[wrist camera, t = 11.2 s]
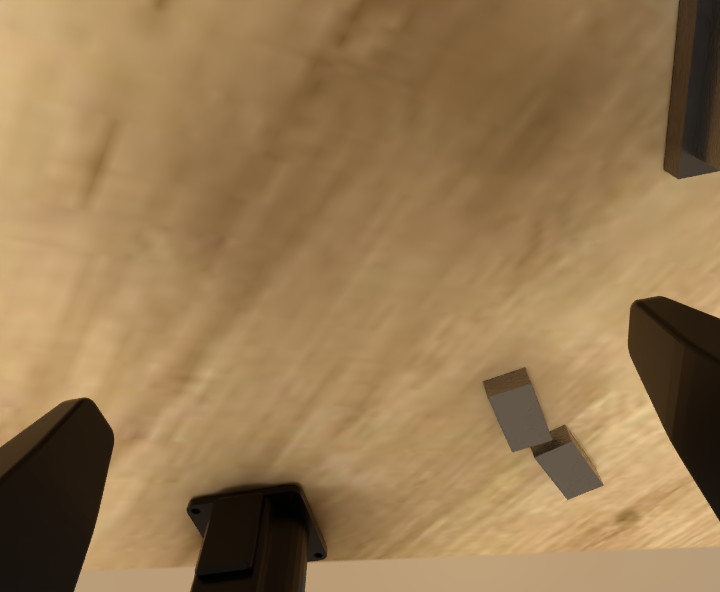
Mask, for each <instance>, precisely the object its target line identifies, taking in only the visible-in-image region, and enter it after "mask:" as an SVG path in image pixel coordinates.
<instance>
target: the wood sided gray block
mask: <svg viewBox="0 0 720 592" xmlns="http://www.w3.org/2000/svg"><path fill="white" fill-rule="evenodd" d="M550 435H551V438H552V441H548V442H545V443H542V444H538V445H535V446H532V447H531V450H532V452H533V455H534V458H535V459H536V460H537V462H538V463H539V464H540V465H541V467H542V468H543V469H544V471H545V472H546V473H547V474H548V476H549V477H550V478H551V479H552V481H553V482H554V483H555V485H556V486H557V487H558V488H559V490H560V491H561V492H562V493H563V495H564V496H565V497H566V498H567V500H568V499H571V498H573V497H576V496H578V495H581V494H583V493H586V492H588V491H591V490H593V489H596V488H598V487H601V486H603V483H602V481H601V479H600V476H599V474H598V472H597V470H596V468H595V467H594V465H593V464H592V462H591V461H590V460H589V458H588V457H587V455H586V454H585V453H584V451H583V450H582V448H581V447H580V446H579V444H578V443H577V441H576V440H575V438H574V437H573V436H572V434H571V433H570V431H569V430H568V429H567V427H566V426H565V425H564V426H561V427H559V428H557V429H555V430H552V431H550Z"/></svg>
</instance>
